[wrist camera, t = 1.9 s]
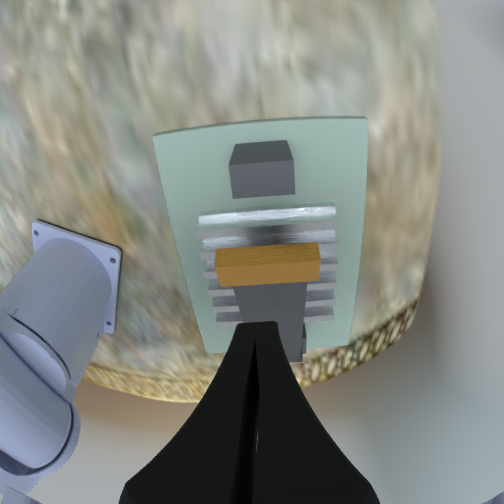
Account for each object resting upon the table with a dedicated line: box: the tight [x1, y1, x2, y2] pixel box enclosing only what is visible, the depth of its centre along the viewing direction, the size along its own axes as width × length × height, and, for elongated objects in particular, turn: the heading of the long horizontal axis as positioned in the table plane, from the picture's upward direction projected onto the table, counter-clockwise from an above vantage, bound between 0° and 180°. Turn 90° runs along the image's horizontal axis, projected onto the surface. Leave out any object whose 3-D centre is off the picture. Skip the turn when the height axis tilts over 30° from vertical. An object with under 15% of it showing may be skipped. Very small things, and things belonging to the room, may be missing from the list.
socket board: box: [152, 117, 368, 354], centre depth 20 cm, size 18×12×5 cm, turn 5°
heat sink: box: [195, 202, 341, 327], centre depth 20 cm, size 8×8×2 cm
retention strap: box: [214, 242, 321, 362], centre depth 17 cm, size 13×4×1 cm, turn 6°
